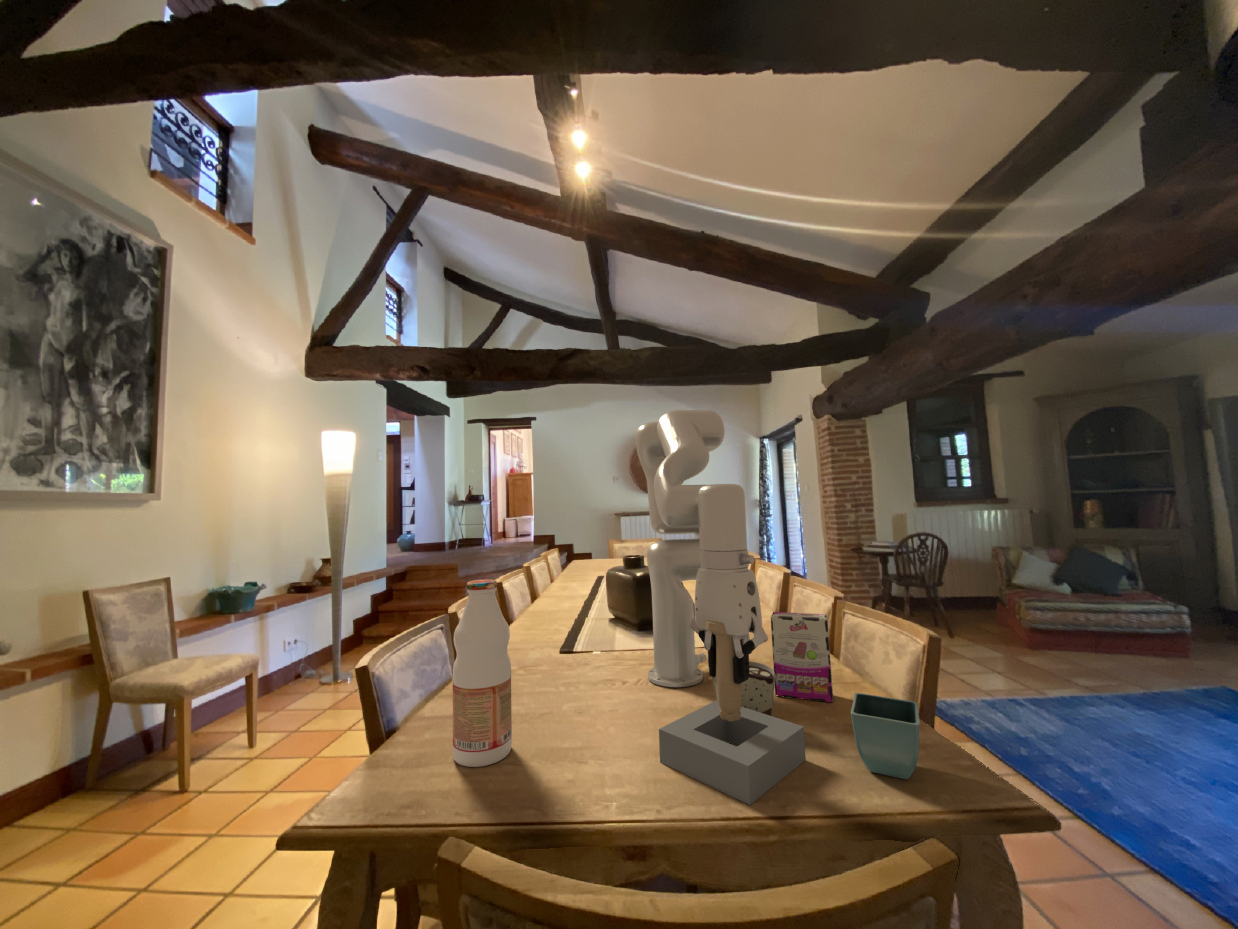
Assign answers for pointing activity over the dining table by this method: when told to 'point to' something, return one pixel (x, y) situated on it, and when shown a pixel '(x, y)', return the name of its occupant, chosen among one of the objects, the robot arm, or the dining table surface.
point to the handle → (726, 674)
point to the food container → (757, 688)
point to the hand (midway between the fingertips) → (728, 676)
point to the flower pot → (886, 734)
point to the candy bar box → (802, 656)
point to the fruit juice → (481, 680)
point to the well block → (733, 750)
